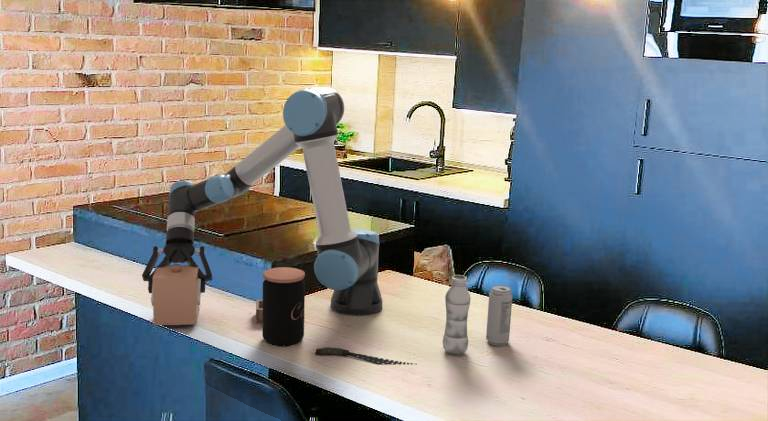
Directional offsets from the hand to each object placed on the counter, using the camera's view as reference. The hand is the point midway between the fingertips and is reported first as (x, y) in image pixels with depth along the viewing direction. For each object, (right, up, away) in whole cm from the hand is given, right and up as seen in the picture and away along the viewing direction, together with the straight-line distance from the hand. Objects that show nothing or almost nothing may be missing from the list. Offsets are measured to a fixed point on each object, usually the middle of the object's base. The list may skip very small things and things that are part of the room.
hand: (175, 303), depth 213 cm
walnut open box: (+25, -5, +10) cm, 27 cm away
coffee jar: (+29, -9, -5) cm, 31 cm away
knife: (+52, -13, -16) cm, 56 cm away
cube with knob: (-1, -4, +4) cm, 6 cm away
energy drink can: (+85, -10, -1) cm, 86 cm away
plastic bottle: (+73, -12, -9) cm, 75 cm away
